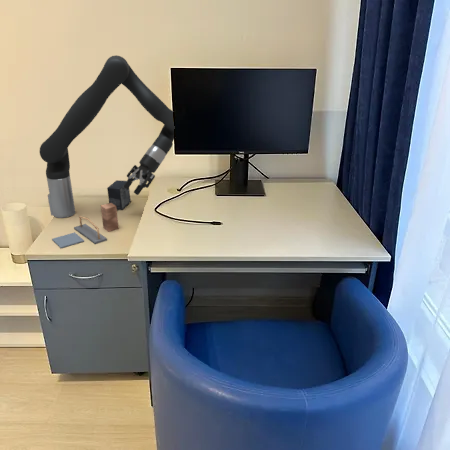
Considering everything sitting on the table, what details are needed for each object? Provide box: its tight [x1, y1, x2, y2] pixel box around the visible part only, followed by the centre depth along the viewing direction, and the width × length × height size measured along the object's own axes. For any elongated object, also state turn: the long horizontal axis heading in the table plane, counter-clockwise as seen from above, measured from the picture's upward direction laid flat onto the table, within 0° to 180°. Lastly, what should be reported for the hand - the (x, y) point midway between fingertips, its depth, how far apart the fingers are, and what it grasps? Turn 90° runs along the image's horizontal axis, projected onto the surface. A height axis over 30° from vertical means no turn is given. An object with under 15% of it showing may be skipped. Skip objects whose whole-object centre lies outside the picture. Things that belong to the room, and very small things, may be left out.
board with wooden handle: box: [73, 215, 108, 245], centre depth 168 cm, size 5×18×7 cm, turn 43°
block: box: [100, 202, 120, 233], centre depth 172 cm, size 4×4×10 cm
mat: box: [51, 231, 85, 249], centre depth 164 cm, size 9×9×1 cm
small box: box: [106, 180, 132, 211], centre depth 195 cm, size 11×6×10 cm, turn 170°
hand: (130, 190), depth 175 cm, fingers open, 8 cm apart
